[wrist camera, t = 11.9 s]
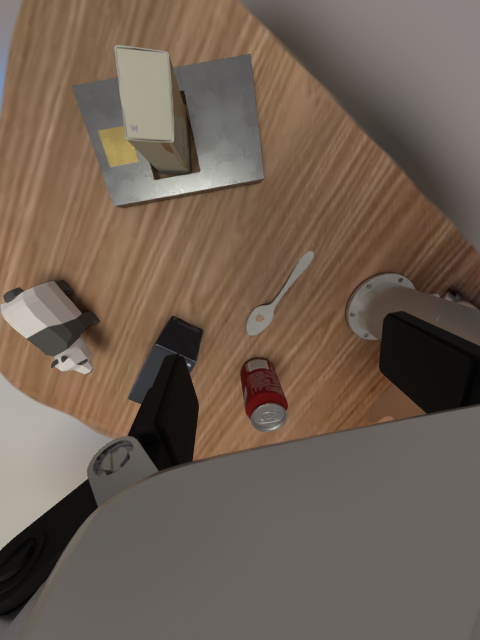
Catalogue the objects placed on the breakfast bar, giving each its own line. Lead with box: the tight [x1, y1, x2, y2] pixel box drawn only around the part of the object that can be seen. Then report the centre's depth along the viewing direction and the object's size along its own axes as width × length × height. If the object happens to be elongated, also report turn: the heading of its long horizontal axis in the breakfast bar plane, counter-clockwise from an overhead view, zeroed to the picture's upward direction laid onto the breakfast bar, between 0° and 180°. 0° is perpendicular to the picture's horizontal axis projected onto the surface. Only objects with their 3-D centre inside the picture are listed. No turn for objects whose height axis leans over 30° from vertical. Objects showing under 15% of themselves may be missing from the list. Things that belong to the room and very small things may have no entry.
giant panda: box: [1, 280, 100, 374], centre depth 33 cm, size 15×6×10 cm, turn 27°
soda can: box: [241, 359, 288, 432], centre depth 39 cm, size 7×7×12 cm
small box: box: [128, 316, 203, 404], centre depth 36 cm, size 11×6×10 cm, turn 150°
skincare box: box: [115, 45, 191, 175], centre depth 24 cm, size 6×4×12 cm
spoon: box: [246, 251, 314, 336], centre depth 38 cm, size 4×21×2 cm, turn 144°
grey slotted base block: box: [72, 54, 264, 208], centre depth 28 cm, size 20×12×3 cm, turn 100°
